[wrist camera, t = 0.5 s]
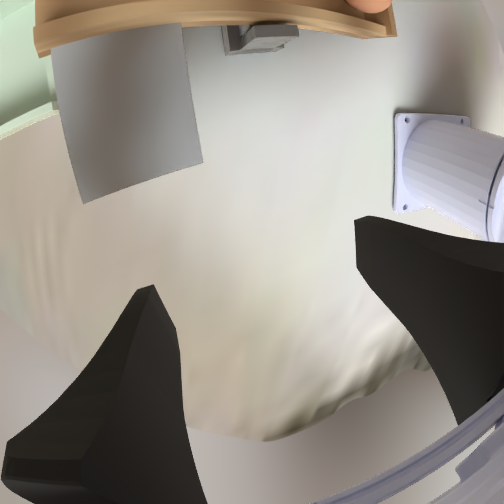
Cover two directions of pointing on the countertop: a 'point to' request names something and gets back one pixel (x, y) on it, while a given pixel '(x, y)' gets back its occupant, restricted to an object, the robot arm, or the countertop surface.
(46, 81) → the dish
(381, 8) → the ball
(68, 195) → the countertop surface
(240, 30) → the fulcrum
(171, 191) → the countertop surface
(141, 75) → the lever
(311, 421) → the countertop surface
